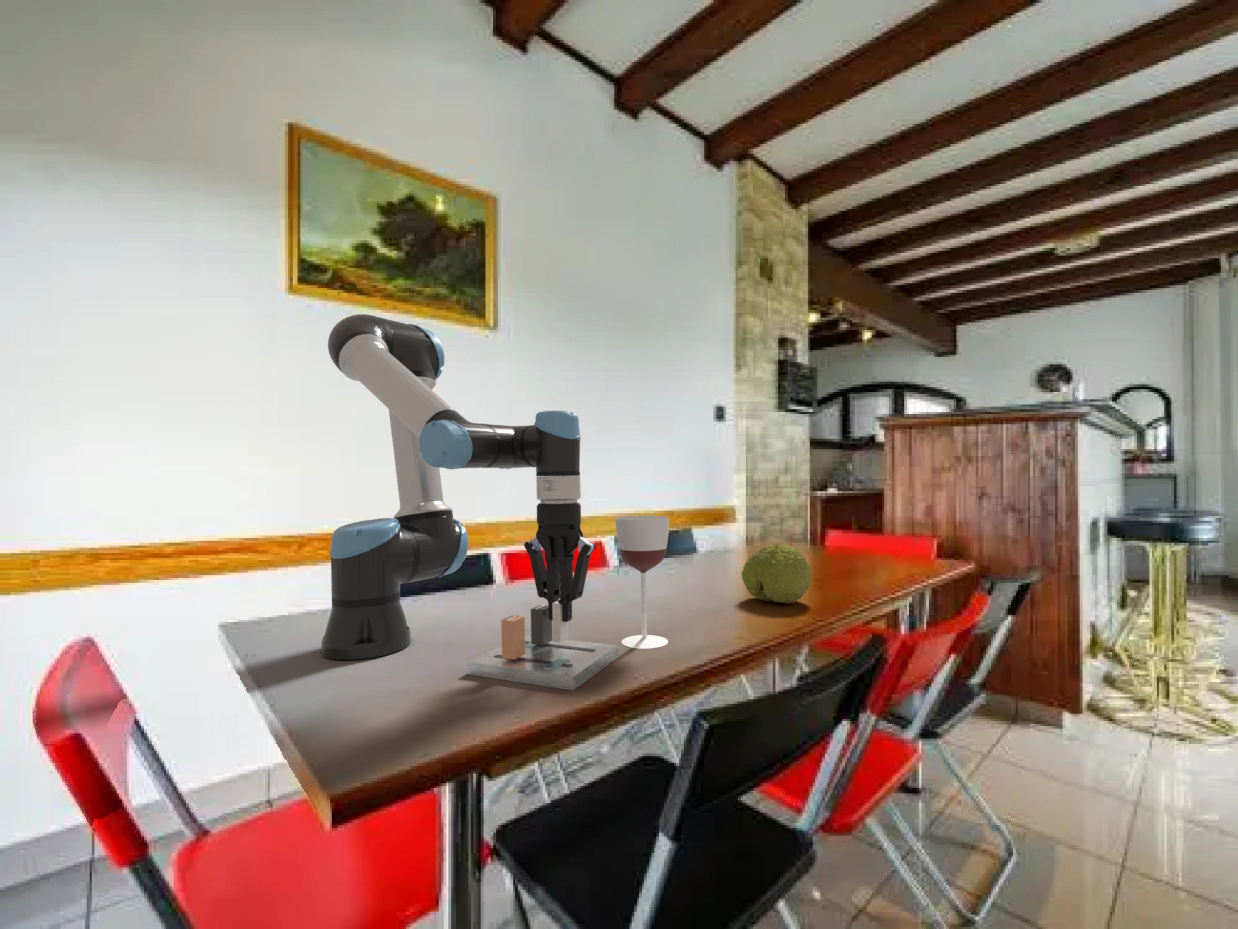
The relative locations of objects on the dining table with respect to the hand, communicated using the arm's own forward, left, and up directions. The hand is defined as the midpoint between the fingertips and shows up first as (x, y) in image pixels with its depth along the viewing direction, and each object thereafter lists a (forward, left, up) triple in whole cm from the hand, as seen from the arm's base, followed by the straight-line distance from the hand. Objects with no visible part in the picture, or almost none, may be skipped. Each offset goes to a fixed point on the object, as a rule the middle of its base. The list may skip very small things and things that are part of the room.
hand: (560, 639), depth 98 cm
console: (-1, -4, -3) cm, 5 cm away
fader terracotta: (-4, -8, -1) cm, 9 cm away
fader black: (-4, 0, -1) cm, 4 cm away
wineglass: (+10, +14, -3) cm, 17 cm away
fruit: (+28, +55, -3) cm, 62 cm away
